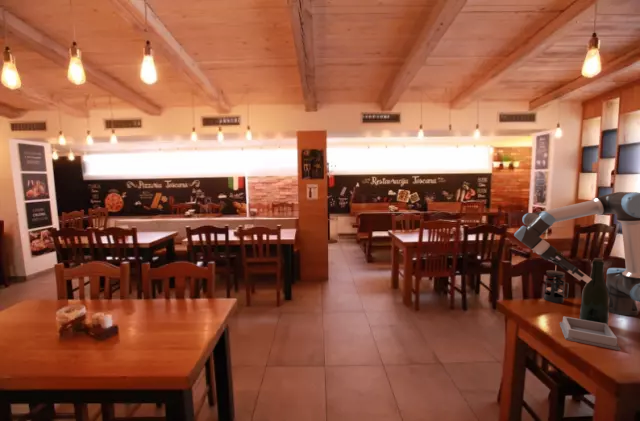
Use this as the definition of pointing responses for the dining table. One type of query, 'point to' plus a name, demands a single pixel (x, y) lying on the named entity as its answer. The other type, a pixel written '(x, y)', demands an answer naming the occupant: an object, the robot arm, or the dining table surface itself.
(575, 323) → the bottle stand
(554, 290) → the french press
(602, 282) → the beer bottle
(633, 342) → the dining table surface
